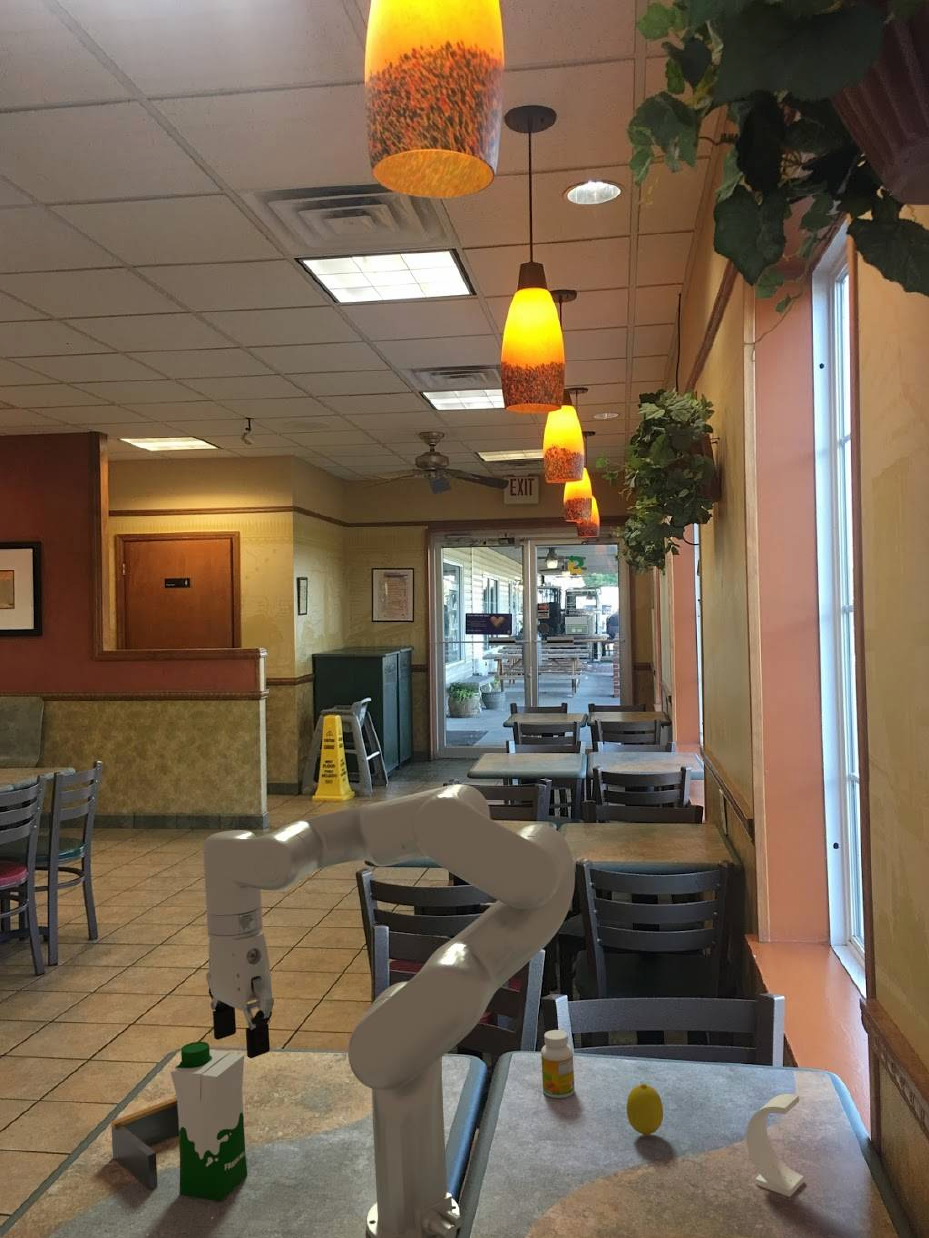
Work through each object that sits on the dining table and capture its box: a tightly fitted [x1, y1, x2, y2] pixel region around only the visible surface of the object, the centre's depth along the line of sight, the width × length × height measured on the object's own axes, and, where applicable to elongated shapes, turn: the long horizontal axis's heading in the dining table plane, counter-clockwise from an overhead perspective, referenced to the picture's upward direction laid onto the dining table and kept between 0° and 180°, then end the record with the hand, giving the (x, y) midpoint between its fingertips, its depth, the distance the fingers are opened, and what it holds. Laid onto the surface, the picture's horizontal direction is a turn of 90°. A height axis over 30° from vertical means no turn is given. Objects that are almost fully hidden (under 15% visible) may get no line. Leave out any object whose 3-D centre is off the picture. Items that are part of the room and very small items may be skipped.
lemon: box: [626, 1083, 664, 1138], centre depth 152 cm, size 6×6×8 cm
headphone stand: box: [745, 1093, 805, 1198], centre depth 138 cm, size 5×6×12 cm
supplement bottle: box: [540, 1029, 575, 1099], centre depth 169 cm, size 5×5×10 cm
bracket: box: [110, 1096, 179, 1191], centre depth 154 cm, size 13×14×6 cm
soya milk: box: [170, 1041, 248, 1202], centre depth 145 cm, size 9×9×20 cm
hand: (241, 1045), depth 138 cm, fingers open, 8 cm apart
